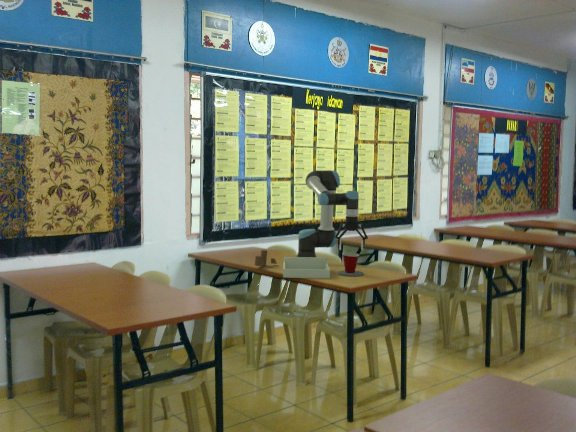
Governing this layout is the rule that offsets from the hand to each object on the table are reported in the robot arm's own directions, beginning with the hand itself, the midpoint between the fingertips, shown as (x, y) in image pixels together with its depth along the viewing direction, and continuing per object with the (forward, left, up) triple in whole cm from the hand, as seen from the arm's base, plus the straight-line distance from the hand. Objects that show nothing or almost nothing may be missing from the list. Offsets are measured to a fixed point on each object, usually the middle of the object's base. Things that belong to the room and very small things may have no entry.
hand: (351, 249), depth 374 cm
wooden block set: (-24, -55, -15) cm, 62 cm away
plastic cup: (0, 0, -14) cm, 14 cm away
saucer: (0, 0, -15) cm, 15 cm away
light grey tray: (0, -28, -15) cm, 32 cm away
